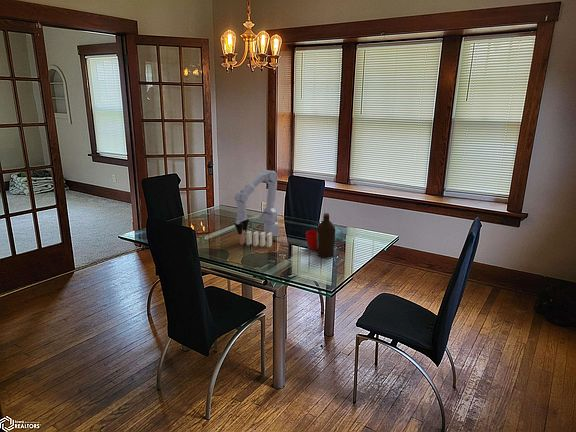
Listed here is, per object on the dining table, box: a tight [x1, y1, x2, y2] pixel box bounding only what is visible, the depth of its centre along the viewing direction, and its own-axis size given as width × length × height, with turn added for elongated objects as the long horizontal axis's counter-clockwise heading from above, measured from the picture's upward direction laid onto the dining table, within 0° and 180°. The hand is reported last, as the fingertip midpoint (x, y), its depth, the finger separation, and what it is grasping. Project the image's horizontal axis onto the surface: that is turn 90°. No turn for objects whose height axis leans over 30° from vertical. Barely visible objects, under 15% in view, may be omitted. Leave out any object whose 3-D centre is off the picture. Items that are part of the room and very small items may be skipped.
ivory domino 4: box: [266, 232, 273, 248], centre depth 251 cm, size 2×5×8 cm, turn 163°
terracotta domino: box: [238, 229, 246, 246], centre depth 256 cm, size 2×5×8 cm, turn 163°
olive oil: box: [316, 212, 336, 259], centre depth 233 cm, size 11×11×25 cm
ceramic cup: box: [305, 229, 317, 252], centre depth 248 cm, size 13×17×10 cm
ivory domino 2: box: [252, 230, 260, 247], centre depth 254 cm, size 2×5×8 cm, turn 163°
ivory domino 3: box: [259, 231, 266, 247], centre depth 253 cm, size 2×5×8 cm, turn 163°
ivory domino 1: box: [245, 230, 253, 246], centre depth 255 cm, size 2×5×8 cm, turn 163°
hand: (242, 232), depth 256 cm, fingers open, 7 cm apart
